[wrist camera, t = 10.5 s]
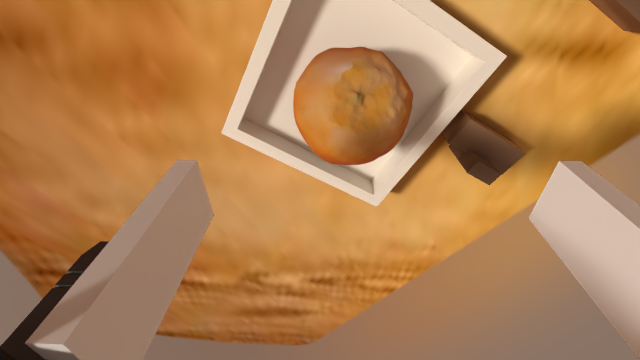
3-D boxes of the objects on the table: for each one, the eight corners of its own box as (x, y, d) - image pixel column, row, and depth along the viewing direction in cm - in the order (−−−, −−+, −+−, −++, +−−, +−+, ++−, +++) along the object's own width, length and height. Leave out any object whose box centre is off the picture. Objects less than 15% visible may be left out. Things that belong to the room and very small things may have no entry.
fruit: (288, 157, 25) (281, 155, 17) (302, 65, 25) (301, 19, 17) (379, 171, 26) (413, 176, 18) (394, 81, 25) (436, 44, 17)
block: (615, -74, 18) (688, -89, 14) (672, -18, 19) (751, -17, 16) (433, 137, 26) (449, 163, 23) (482, 166, 28) (505, 194, 24)
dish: (310, -79, 18) (307, -89, 16) (487, 47, 22) (507, 56, 19) (231, 118, 26) (221, 133, 23) (372, 187, 29) (376, 206, 27)
